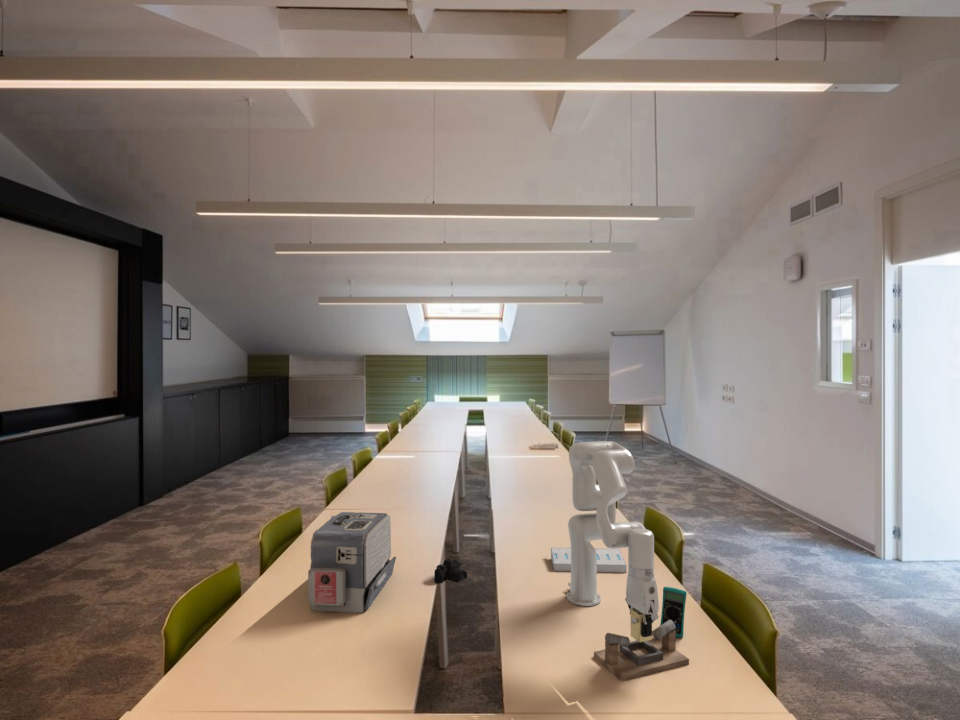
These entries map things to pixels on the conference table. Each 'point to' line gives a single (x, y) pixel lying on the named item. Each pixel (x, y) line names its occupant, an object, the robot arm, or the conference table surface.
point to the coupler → (638, 626)
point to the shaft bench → (641, 653)
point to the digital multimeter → (674, 608)
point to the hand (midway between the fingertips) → (641, 631)
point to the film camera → (449, 572)
